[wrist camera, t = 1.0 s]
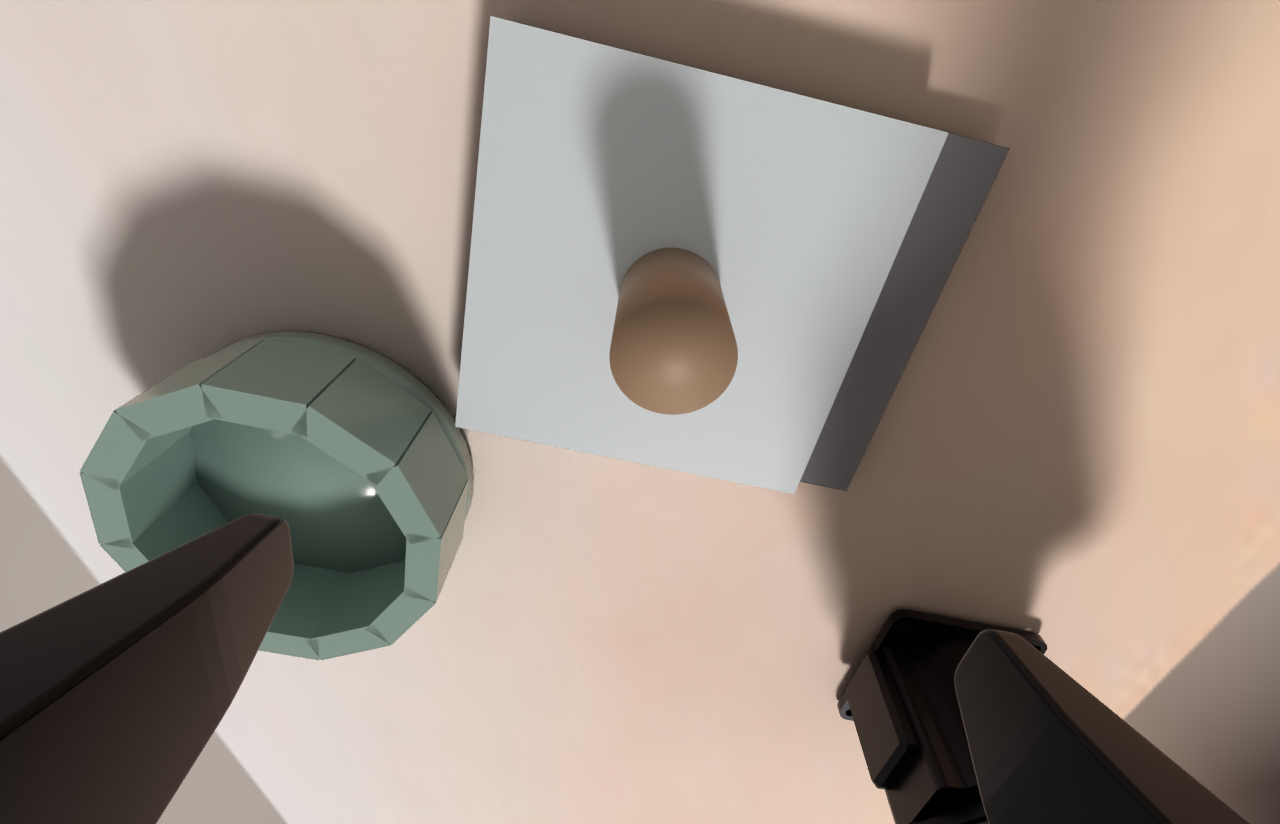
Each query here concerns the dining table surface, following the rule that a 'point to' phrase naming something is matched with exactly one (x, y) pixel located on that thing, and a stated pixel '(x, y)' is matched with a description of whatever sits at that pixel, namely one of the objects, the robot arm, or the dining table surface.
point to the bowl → (295, 480)
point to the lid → (672, 256)
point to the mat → (904, 305)
